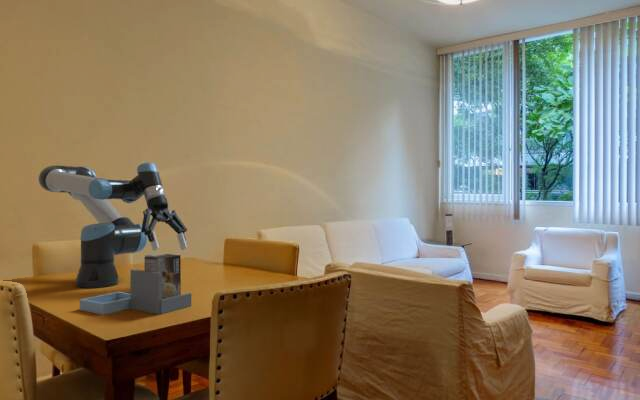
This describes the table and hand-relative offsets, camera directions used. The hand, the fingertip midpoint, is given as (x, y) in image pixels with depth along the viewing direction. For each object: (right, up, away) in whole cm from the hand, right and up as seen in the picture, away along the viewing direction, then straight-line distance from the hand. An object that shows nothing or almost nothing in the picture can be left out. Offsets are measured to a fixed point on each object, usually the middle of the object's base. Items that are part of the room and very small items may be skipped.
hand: (170, 249), depth 176 cm
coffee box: (+7, -15, -30) cm, 35 cm away
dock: (+7, -15, -30) cm, 34 cm away
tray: (-8, -15, -32) cm, 36 cm away
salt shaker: (-6, -15, -5) cm, 16 cm away
